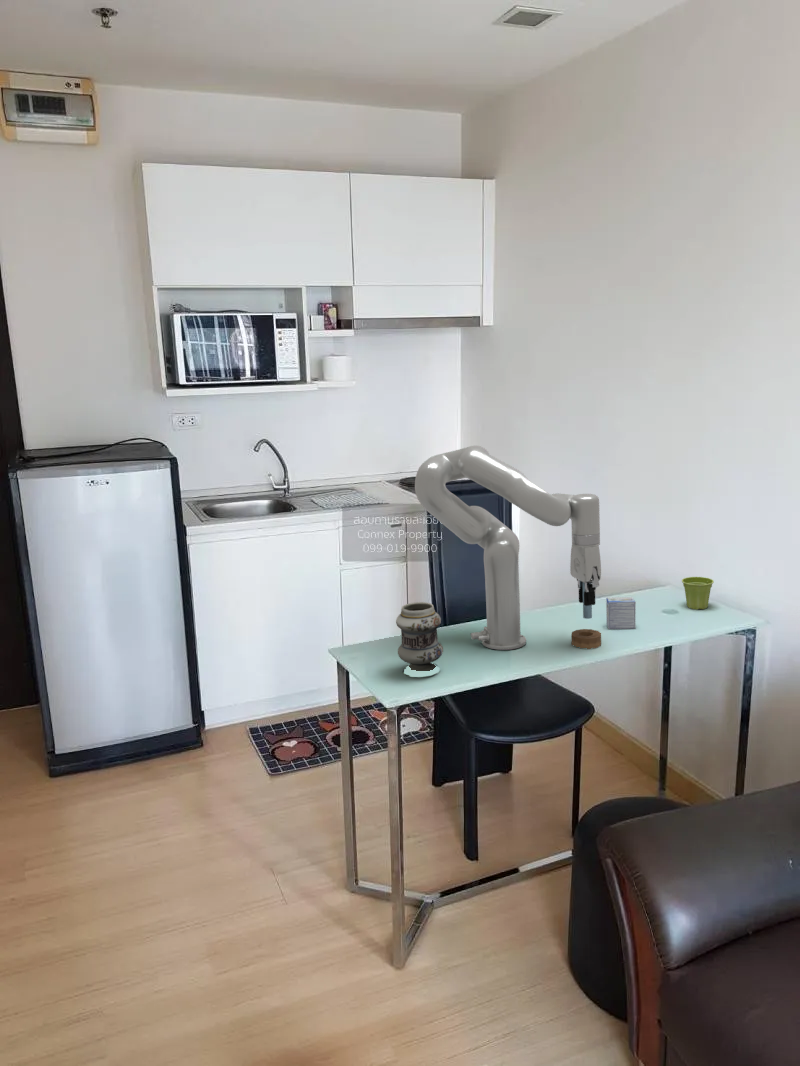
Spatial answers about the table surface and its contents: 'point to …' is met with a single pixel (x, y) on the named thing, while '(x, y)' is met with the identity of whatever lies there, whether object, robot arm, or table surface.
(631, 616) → the medicine box
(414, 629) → the apothecary jar
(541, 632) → the table surface
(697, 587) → the plant pot
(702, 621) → the table surface
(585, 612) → the blue grey cylinder
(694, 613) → the table surface
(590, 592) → the robot arm
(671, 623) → the table surface
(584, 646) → the bead
